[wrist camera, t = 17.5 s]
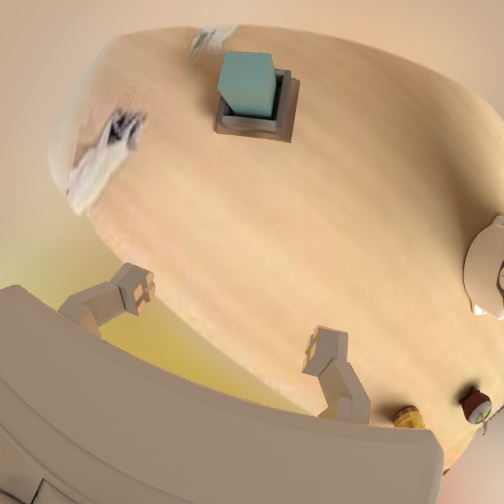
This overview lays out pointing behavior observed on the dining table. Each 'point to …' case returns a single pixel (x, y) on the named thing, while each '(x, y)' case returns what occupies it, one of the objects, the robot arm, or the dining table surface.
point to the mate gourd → (476, 407)
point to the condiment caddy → (258, 127)
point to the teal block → (249, 84)
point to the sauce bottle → (409, 419)
